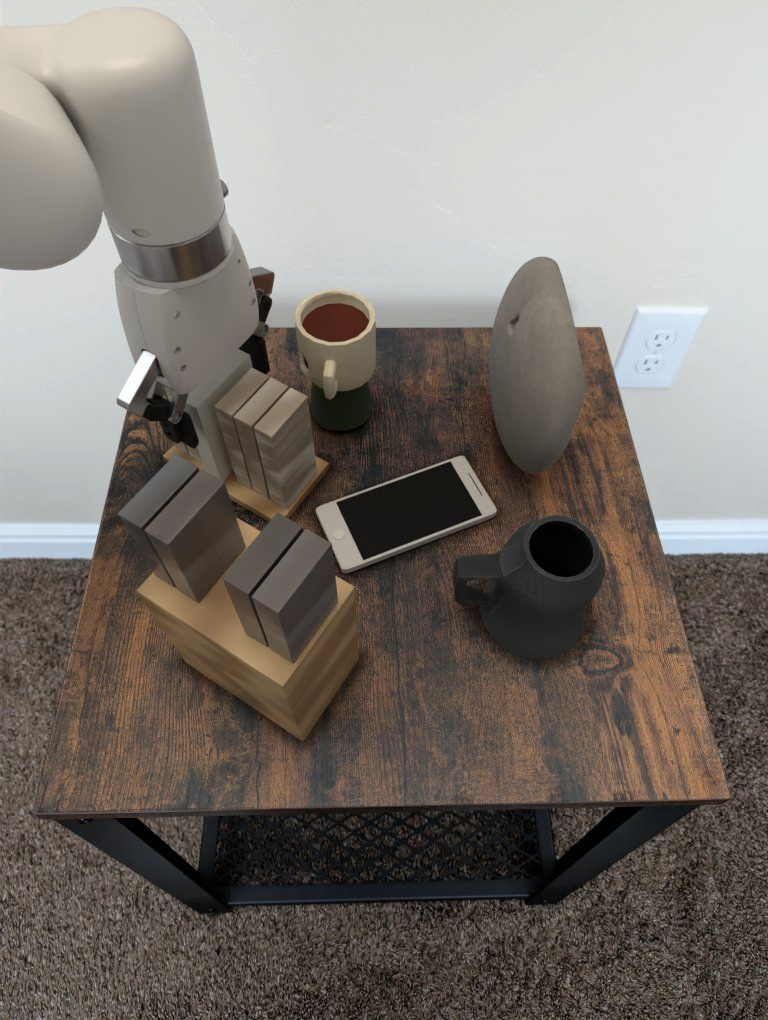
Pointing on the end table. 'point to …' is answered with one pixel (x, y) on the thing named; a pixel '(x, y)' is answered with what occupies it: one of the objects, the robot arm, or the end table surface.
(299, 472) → the grey-brown wooden block stand
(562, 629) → the mug
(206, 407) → the grey flat block
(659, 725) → the end table surface
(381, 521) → the smartphone
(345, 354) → the character mug
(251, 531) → the wooden stand
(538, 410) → the grey oval stone
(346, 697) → the end table surface
